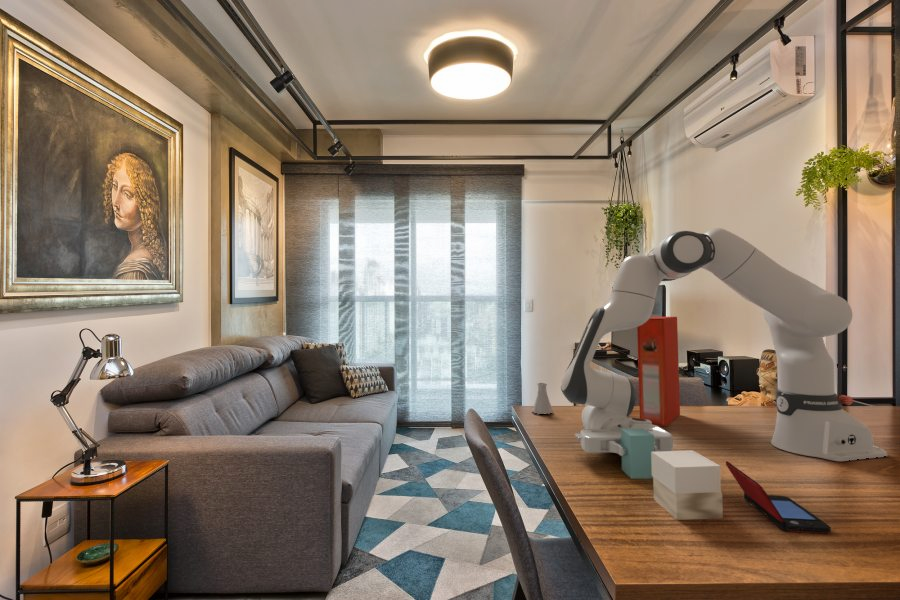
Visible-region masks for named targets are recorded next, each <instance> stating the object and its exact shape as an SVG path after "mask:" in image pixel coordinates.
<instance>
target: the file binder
mask: <svg viewBox="0 0 900 600" xmlns="http://www.w3.org/2000/svg"><path fill="white" fill-rule="evenodd" d="M636 333H637V334H636V336H637V339H636V340H637V366H638V367H637V368H638V400H639V403H638V404H639V419H647V420H650V421H651V422H652V425H656V426H658V427H666V428H667V427H668V426H669V425H670V424H672V423H673V422H674V421H675V420H676V419H677V418H678V417H679V416H680V415H681V405H680V404H681V399H680V371H679V369H680V368H679V367H680V366H679V337H678V336H679V333H678V316H650V318H649V319H648V321H647V322H645V323H644V324H643V325H641V326H639V327H636Z"/></svg>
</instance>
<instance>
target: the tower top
mask: <svg viewBox="0 0 900 600" xmlns="http://www.w3.org/2000/svg"><path fill="white" fill-rule="evenodd" d="M651 464H652V476H653V477H654V478H655V479H657V480H658V481H659V482H661V483H662V484H663V485H665V486H666V487H667V488H669V489H670V490H671V491H672V492H674V493H675V494H684V493H710V492H722V490H721V488H722V486H721V484H722V481H721V480H722V478H721V475H722V474H721V465H720V464H717V463H716V462H714V461H713V460H710V459H709V458H707V457H705V456H703V455H702V454H700V453H698V452H696V451H695V450H693V449H692V450H691V449H690V450H672V451H658V452H651Z"/></svg>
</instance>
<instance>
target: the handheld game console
mask: <svg viewBox="0 0 900 600" xmlns="http://www.w3.org/2000/svg"><path fill="white" fill-rule="evenodd" d="M725 465H726V467H727V468H728V470H729V472H730V473H731V474H732V476H733V477H734V479H735V481H736V483H737V484H738V485H739V487H740V488H741V490H742V491H743V498H744V500H746V502H747V503H749V504H750V505H751V504H752V505H751V506H753V507H754V509H756V510H757V509H758V511H759V512H761V513H763V514H765V516H766V518H767V519H768V520H769V521H770V520H771V522H772V523H773V525H775V526H776V527H777V528H778V529H780V530H781V531H783V532H785V533H787V532H791V533H792V532H795V533H796V532H797V533H807V534H808V533H810V534H812V533H813V534H831V533H832V527H831V526H830V525H829V524H827V523H826V522H824V521H823V520H822V519H821V518H819V517H818V516H816V515H815V514H813V513H812V512H811V511H809V510H808V509H807V508H805V507H803V506H802V505H800V504H799V503H797V501H795V500H793V499H792V498H790V497H788V496H785V495H773V494H772V495H771V494H767V492H766V491H765V489H764V488H763V487H762V486H761V484H760V483H758V482H757V481H756V480H754V479H753V478H751V477H750V476H749V475H747V474H746V473H744V472H743V471H742V470H740V469H739V468H737V467H736V466H735V465H733V464H732V463H730V462H729V461H725Z"/></svg>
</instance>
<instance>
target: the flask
mask: <svg viewBox="0 0 900 600" xmlns="http://www.w3.org/2000/svg"><path fill="white" fill-rule="evenodd" d="M536 384H537V394H536V395H537V396H536V398H535V401H534V404H533V407H535V408H533V407H532V411H533V412H534V413H542V414H544V413H552V412H554V410H553V406H552V405H551V402H550V398H549V396H548V392H547V385H548V384H547V382H537V383H536ZM532 411H531V412H532ZM534 413H533V414H534ZM552 414H553V413H552Z"/></svg>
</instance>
